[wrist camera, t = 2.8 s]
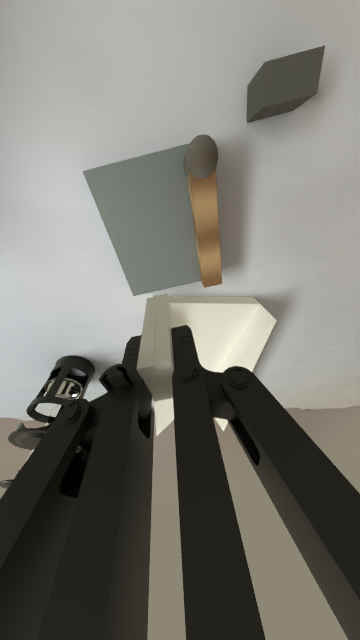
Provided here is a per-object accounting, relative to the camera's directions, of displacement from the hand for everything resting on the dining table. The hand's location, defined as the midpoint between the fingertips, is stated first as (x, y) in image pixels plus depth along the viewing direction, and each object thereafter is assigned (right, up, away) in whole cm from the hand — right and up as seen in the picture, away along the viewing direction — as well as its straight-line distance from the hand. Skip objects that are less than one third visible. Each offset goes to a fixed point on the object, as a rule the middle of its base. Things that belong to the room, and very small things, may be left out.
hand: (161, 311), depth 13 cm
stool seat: (-2, +14, +15) cm, 21 cm away
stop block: (+13, +27, +8) cm, 31 cm away
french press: (-26, -14, +32) cm, 44 cm away
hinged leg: (+5, +14, +12) cm, 19 cm away
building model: (+5, -14, +36) cm, 39 cm away
